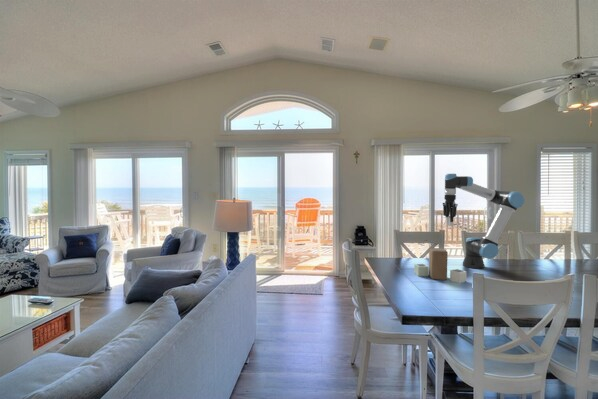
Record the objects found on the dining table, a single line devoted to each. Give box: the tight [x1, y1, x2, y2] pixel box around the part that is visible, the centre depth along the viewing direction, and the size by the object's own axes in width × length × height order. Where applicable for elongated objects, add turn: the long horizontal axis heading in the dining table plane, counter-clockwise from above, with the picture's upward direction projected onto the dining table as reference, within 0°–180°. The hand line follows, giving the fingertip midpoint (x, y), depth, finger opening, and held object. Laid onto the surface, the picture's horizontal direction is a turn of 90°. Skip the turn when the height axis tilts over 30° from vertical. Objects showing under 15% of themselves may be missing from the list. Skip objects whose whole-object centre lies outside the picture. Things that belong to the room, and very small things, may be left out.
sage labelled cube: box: [413, 263, 429, 277], centre depth 223 cm, size 7×7×7 cm
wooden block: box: [428, 247, 449, 281], centre depth 215 cm, size 10×10×20 cm
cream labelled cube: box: [449, 268, 467, 284], centre depth 209 cm, size 7×7×7 cm
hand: (449, 225), depth 230 cm, fingers open, 3 cm apart
